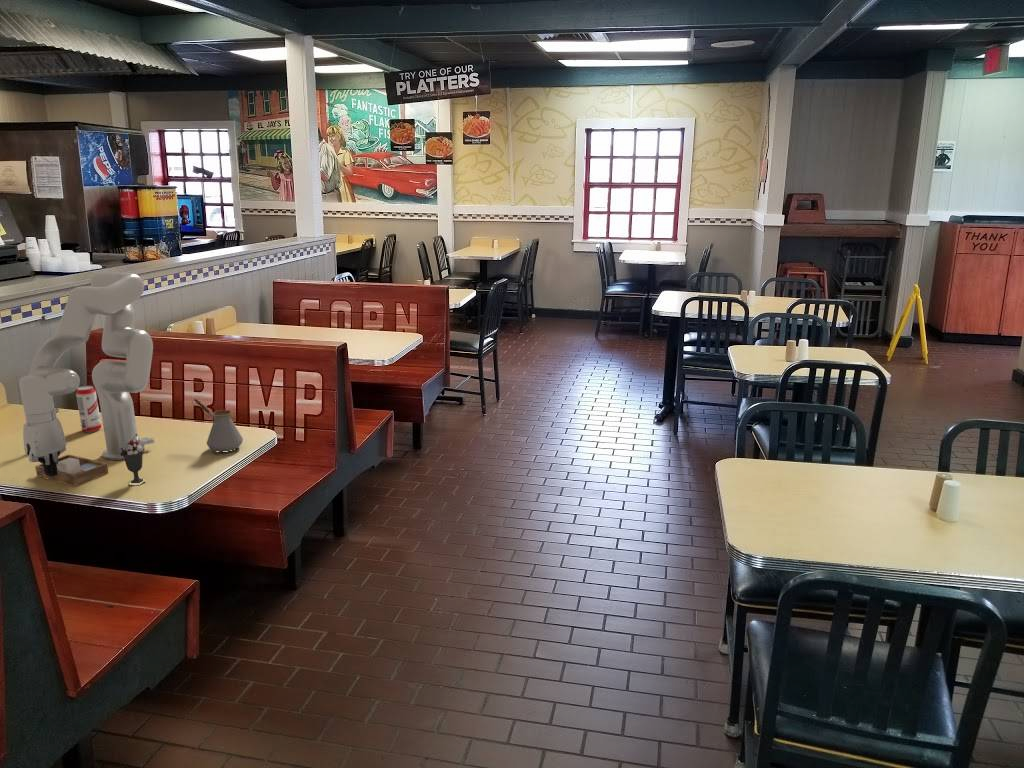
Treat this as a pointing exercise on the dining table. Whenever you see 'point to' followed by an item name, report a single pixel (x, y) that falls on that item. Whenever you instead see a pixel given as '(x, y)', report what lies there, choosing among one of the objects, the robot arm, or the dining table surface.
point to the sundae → (133, 458)
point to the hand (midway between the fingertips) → (51, 474)
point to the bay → (87, 466)
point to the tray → (79, 477)
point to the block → (69, 466)
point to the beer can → (88, 408)
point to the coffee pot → (222, 431)
